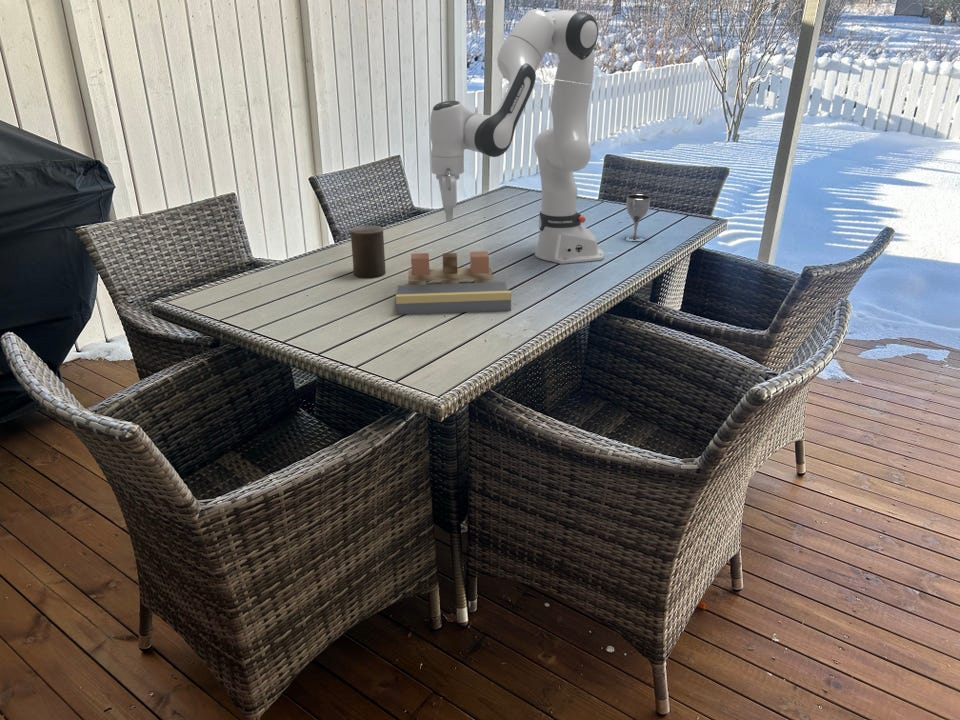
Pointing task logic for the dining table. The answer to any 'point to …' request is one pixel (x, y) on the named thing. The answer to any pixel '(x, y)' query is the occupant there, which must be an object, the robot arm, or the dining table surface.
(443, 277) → the pallet
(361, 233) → the pillar candle
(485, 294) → the dock
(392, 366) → the dining table surface
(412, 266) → the block
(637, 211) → the wine glass
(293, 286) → the dining table surface
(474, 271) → the block
